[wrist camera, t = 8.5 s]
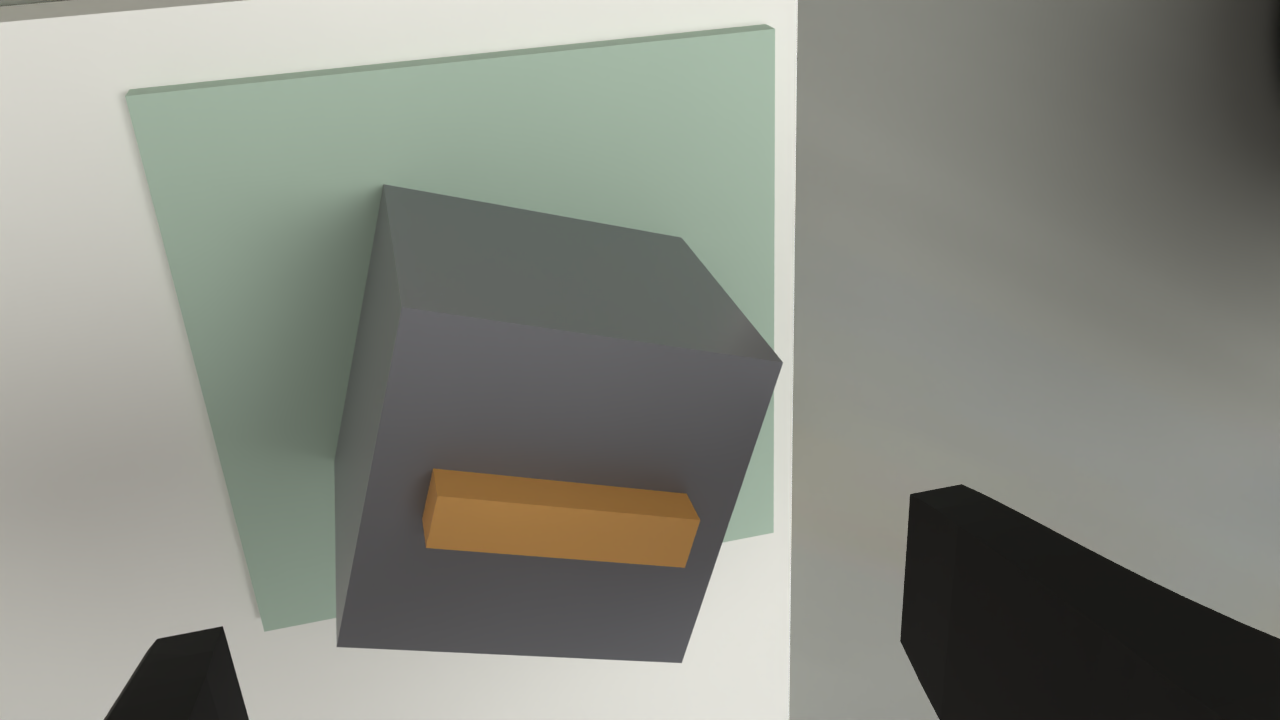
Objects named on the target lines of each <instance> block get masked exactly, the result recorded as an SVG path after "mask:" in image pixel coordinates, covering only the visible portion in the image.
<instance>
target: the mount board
mask: <svg viewBox="0 0 1280 720" xmlns="http://www.w3.org/2000/svg"><path fill="white" fill-rule="evenodd" d="M797 10H798V0H68V1H56V2H45V3H33V4H22V5H10V6H0V720H104V718H105V717H106V715H107V714H108V712H109V710H110V709H111V707H112V706H113V704H114V703H115V701H116V699H117V698H118V696H119V695H120V693H121V692H122V690H123V688H124V687H125V685H126V684H127V682H128V680H129V679H130V677H131V676H132V674H133V673H134V671H135V669H136V668H137V666H138V665H139V663H140V662H141V660H142V658H143V657H144V655H145V654H146V652H147V651H148V649H149V648H150V647H151V646H152V644H153V643H154V642H155V641H156V639H158V638H164V637H169V636H174V635H179V634H185V633H190V632H195V631H200V630H205V629H211V628H216V627H221V626H223V628H224V632H225V635H226V639H227V643H228V646H229V650H230V653H231V657H232V661H233V664H234V668H235V671H236V675H237V678H238V682H239V686H240V689H241V693H242V696H243V700H244V703H245V707H246V711H247V714H248V718H249V720H789V684H790V600H791V516H792V431H793V347H794V263H795V178H796V94H797ZM762 24H767V25H769V26H771V27H773V28H775V221H774V352H775V353H776V354H777V356H778V357H779V358H780V359H781V361H782V362H783V364H782V367H781V370H780V373H779V376H778V379H777V382H776V385H775V388H774V533H769V534H764V535H759V536H754V537H749V538H744V539H739V540H733V541H728V542H723V543H722V545H721V548H720V551H719V554H718V557H717V560H716V563H715V566H714V569H713V572H712V575H711V578H710V581H709V584H708V587H707V590H706V593H705V596H704V599H703V602H702V605H701V608H700V611H699V614H698V616H697V619H696V622H695V625H694V628H693V631H692V634H691V637H690V640H689V643H688V646H687V649H686V652H685V655H684V658H683V661H682V663H667V662H646V661H624V660H603V659H581V658H560V657H539V656H517V655H496V654H474V653H453V652H431V651H410V650H388V649H367V648H346V647H337V641H336V618H333V619H327V620H322V621H317V622H312V623H307V624H302V625H297V626H291V627H286V628H281V629H276V630H271V631H266V632H264V628H263V624H262V621H261V617H260V613H259V609H258V605H257V601H256V598H255V594H254V590H253V586H252V582H251V578H250V574H249V571H248V567H247V563H246V559H245V555H244V551H243V548H242V544H241V540H240V536H239V532H238V528H237V525H236V521H235V517H234V513H233V509H232V505H231V501H230V498H229V494H228V490H227V486H226V482H225V478H224V475H223V471H222V467H221V463H220V459H219V455H218V452H217V448H216V444H215V440H214V436H213V432H212V428H211V425H210V421H209V417H208V413H207V409H206V405H205V402H204V398H203V394H202V390H201V386H200V382H199V379H198V375H197V371H196V367H195V363H194V359H193V355H192V352H191V348H190V344H189V340H188V336H187V332H186V329H185V325H184V321H183V317H182V313H181V309H180V306H179V302H178V298H177V294H176V290H175V286H174V282H173V279H172V275H171V271H170V267H169V263H168V259H167V256H166V252H165V248H164V244H163V240H162V236H161V233H160V229H159V225H158V221H157V217H156V213H155V209H154V206H153V202H152V198H151V194H150V190H149V186H148V183H147V179H146V175H145V171H144V167H143V163H142V160H141V156H140V152H139V148H138V144H137V140H136V136H135V133H134V129H133V125H132V121H131V117H130V113H129V110H128V106H127V102H126V98H125V95H126V94H127V93H128V91H129V90H130V89H138V88H148V87H158V86H167V85H177V84H187V83H197V82H206V81H216V80H226V79H236V78H245V77H255V76H265V75H275V74H284V73H294V72H304V71H313V70H323V69H333V68H343V67H352V66H362V65H372V64H382V63H391V62H401V61H411V60H421V59H430V58H440V57H450V56H460V55H469V54H479V53H489V52H499V51H508V50H518V49H528V48H538V47H547V46H557V45H567V44H577V43H586V42H596V41H606V40H616V39H625V38H635V37H645V36H655V35H664V34H674V33H684V32H694V31H703V30H713V29H723V28H733V27H742V26H752V25H762Z"/></svg>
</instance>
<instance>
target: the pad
mask: <svg viewBox="0 0 1280 720" xmlns="http://www.w3.org/2000/svg"><path fill="white" fill-rule="evenodd" d="M125 98H126V102H127V106H128V110H129V113H130V117H131V121H132V125H133V129H134V133H135V136H136V140H137V144H138V148H139V152H140V156H141V160H142V163H143V167H144V171H145V175H146V179H147V183H148V186H149V190H150V194H151V198H152V202H153V206H154V209H155V213H156V217H157V221H158V225H159V229H160V233H161V236H162V240H163V244H164V248H165V252H166V256H167V259H168V263H169V267H170V271H171V275H172V279H173V282H174V286H175V290H176V294H177V298H178V302H179V306H180V309H181V313H182V317H183V321H184V325H185V329H186V332H187V336H188V340H189V344H190V348H191V352H192V355H193V359H194V363H195V367H196V371H197V375H198V379H199V382H200V386H201V390H202V394H203V398H204V402H205V405H206V409H207V413H208V417H209V421H210V425H211V428H212V432H213V436H214V440H215V444H216V448H217V452H218V455H219V459H220V463H221V467H222V471H223V475H224V478H225V482H226V486H227V490H228V494H229V498H230V501H231V505H232V509H233V513H234V517H235V521H236V525H237V528H238V532H239V536H240V540H241V544H242V548H243V551H244V555H245V559H246V563H247V567H248V571H249V574H250V578H251V582H252V586H253V590H254V594H255V598H256V601H257V605H258V609H259V613H260V617H261V621H262V624H263V628H264V632H266V631H271V630H276V629H281V628H286V627H291V626H297V625H302V624H307V623H312V622H317V621H322V620H327V619H333V618H336V558H335V476H334V460H335V455H336V449H337V443H338V438H339V432H340V426H341V421H342V415H343V410H344V404H345V398H346V393H347V387H348V381H349V376H350V370H351V365H352V359H353V353H354V348H355V342H356V336H357V331H358V325H359V320H360V314H361V308H362V303H363V297H364V291H365V286H366V280H367V275H368V269H369V263H370V258H371V252H372V246H373V241H374V235H375V230H376V224H377V218H378V213H379V207H380V201H381V196H382V190H383V184H386V185H391V186H397V187H402V188H408V189H413V190H419V191H425V192H430V193H436V194H441V195H447V196H452V197H458V198H464V199H469V200H475V201H480V202H486V203H491V204H497V205H503V206H508V207H514V208H519V209H525V210H531V211H536V212H542V213H547V214H553V215H558V216H564V217H570V218H575V219H581V220H586V221H592V222H597V223H603V224H609V225H614V226H620V227H625V228H631V229H636V230H642V231H648V232H653V233H659V234H664V235H670V236H676V237H681V238H682V239H683V240H684V241H685V242H686V244H687V245H688V246H689V247H690V249H691V250H692V251H693V252H694V253H695V255H696V256H697V257H698V258H699V260H700V261H701V262H702V263H703V265H704V266H705V267H706V268H707V269H708V271H709V272H710V273H711V274H712V276H713V277H714V278H715V279H716V281H717V282H718V283H719V284H720V285H721V287H722V288H723V289H724V290H725V292H726V293H727V294H728V295H729V297H730V298H731V299H732V300H733V301H734V303H735V304H736V305H737V306H738V308H739V309H740V310H741V311H742V313H743V314H744V315H745V316H746V317H747V319H748V320H749V321H750V322H751V324H752V325H753V326H754V327H755V329H756V330H757V331H758V332H759V333H760V335H761V336H762V337H763V338H764V340H765V341H766V342H767V343H768V345H769V346H770V347H771V348H772V349H773V351H774V221H775V28H773V27H771V26H769V25H767V24H762V25H752V26H742V27H733V28H723V29H713V30H703V31H694V32H684V33H674V34H664V35H655V36H645V37H635V38H625V39H616V40H606V41H596V42H586V43H577V44H567V45H557V46H547V47H538V48H528V49H518V50H508V51H499V52H489V53H479V54H469V55H460V56H450V57H440V58H430V59H421V60H411V61H401V62H391V63H382V64H372V65H362V66H352V67H343V68H333V69H323V70H313V71H304V72H294V73H284V74H275V75H265V76H255V77H245V78H236V79H226V80H216V81H206V82H197V83H187V84H177V85H167V86H158V87H148V88H138V89H130V90H129V91H128V93H127V94H126V95H125ZM769 533H774V391H773V394H772V397H771V400H770V403H769V406H768V409H767V412H766V415H765V418H764V421H763V424H762V427H761V430H760V433H759V436H758V439H757V442H756V445H755V447H754V450H753V453H752V456H751V459H750V462H749V465H748V468H747V471H746V474H745V477H744V480H743V483H742V486H741V489H740V492H739V495H738V498H737V501H736V504H735V507H734V510H733V513H732V516H731V519H730V522H729V525H728V528H727V530H726V533H725V536H724V539H723V542H728V541H733V540H739V539H744V538H749V537H754V536H759V535H764V534H769ZM723 542H722V543H723Z"/></svg>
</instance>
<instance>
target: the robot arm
mask: <svg viewBox="0 0 1280 720" xmlns="http://www.w3.org/2000/svg"><path fill="white" fill-rule="evenodd" d="M900 641H901V643H902V645H903V647H904V650H905V652H906V654H907V656H908V658H909V660H910V662H911V664H912V666H913V668H914V670H915V672H916V674H917V677H918V679H919V681H920V683H921V685H922V687H923V689H924V691H925V693H926V694H927V696H928V698H929V700H930V702H931V704H932V706H933V708H934V710H935V712H936V714H937V716H938V717H939V719H940V720H1280V639H1279V638H1276V637H1274V636H1271V635H1269V634H1267V633H1264V632H1262V631H1259V630H1257V629H1255V628H1252V627H1250V626H1247V625H1245V624H1243V623H1240V622H1238V621H1236V620H1234V619H1232V618H1229V617H1227V616H1225V615H1223V614H1221V613H1218V612H1216V611H1214V610H1212V609H1210V608H1207V607H1205V606H1203V605H1201V604H1199V603H1196V602H1194V601H1192V600H1190V599H1188V598H1185V597H1183V596H1181V595H1179V594H1177V593H1175V592H1173V591H1171V590H1169V589H1167V588H1165V587H1162V586H1160V585H1158V584H1156V583H1154V582H1152V581H1150V580H1148V579H1146V578H1144V577H1142V576H1140V575H1138V574H1136V573H1134V572H1132V571H1130V570H1128V569H1126V568H1124V567H1122V566H1120V565H1118V564H1116V563H1114V562H1112V561H1110V560H1108V559H1106V558H1105V557H1103V556H1101V555H1099V554H1097V553H1095V552H1093V551H1091V550H1089V549H1087V548H1085V547H1083V546H1082V545H1080V544H1078V543H1076V542H1074V541H1072V540H1070V539H1068V538H1066V537H1064V536H1063V535H1061V534H1059V533H1057V532H1055V531H1053V530H1051V529H1049V528H1047V527H1046V526H1044V525H1042V524H1040V523H1038V522H1036V521H1034V520H1032V519H1030V518H1029V517H1027V516H1025V515H1023V514H1021V513H1019V512H1017V511H1015V510H1013V509H1011V508H1009V507H1007V506H1006V505H1004V504H1002V503H1000V502H998V501H996V500H994V499H992V498H990V497H988V496H986V495H984V494H982V493H980V492H977V491H975V490H973V489H971V488H969V487H966V486H964V485H962V484H961V485H956V486H951V487H946V488H940V489H935V490H930V491H925V492H919V493H914V494H910V506H909V521H908V536H907V551H906V566H905V581H904V595H903V610H902V625H901V640H900ZM104 720H249V718H248V714H247V711H246V707H245V703H244V700H243V696H242V693H241V689H240V686H239V682H238V678H237V675H236V671H235V668H234V664H233V661H232V657H231V653H230V650H229V646H228V643H227V639H226V635H225V632H224V628H223V626H221V627H216V628H211V629H205V630H200V631H195V632H190V633H185V634H179V635H174V636H169V637H164V638H158V639H156V641H155V642H154V643H153V644H152V646H151V647H150V648H149V649H148V651H147V652H146V654H145V655H144V657H143V658H142V660H141V662H140V663H139V665H138V666H137V668H136V669H135V671H134V673H133V674H132V676H131V677H130V679H129V680H128V682H127V684H126V685H125V687H124V688H123V690H122V692H121V693H120V695H119V696H118V698H117V699H116V701H115V703H114V704H113V706H112V707H111V709H110V710H109V712H108V714H107V715H106V717H105V718H104Z"/></svg>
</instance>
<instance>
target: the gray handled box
mask: <svg viewBox="0 0 1280 720" xmlns="http://www.w3.org/2000/svg"><path fill="white" fill-rule="evenodd" d="M782 364H783V362H782V361H781V359H780V358H779V357H778V356H777V354H776V353H775V352H774V351H773V349H772V348H771V347H770V346H769V345H768V343H767V342H766V341H765V340H764V338H763V337H762V336H761V335H760V333H759V332H758V331H757V330H756V329H755V327H754V326H753V325H752V324H751V322H750V321H749V320H748V319H747V317H746V316H745V315H744V314H743V313H742V311H741V310H740V309H739V308H738V306H737V305H736V304H735V303H734V301H733V300H732V299H731V298H730V297H729V295H728V294H727V293H726V292H725V290H724V289H723V288H722V287H721V285H720V284H719V283H718V282H717V281H716V279H715V278H714V277H713V276H712V274H711V273H710V272H709V271H708V269H707V268H706V267H705V266H704V265H703V263H702V262H701V261H700V260H699V258H698V257H697V256H696V255H695V253H694V252H693V251H692V250H691V249H690V247H689V246H688V245H687V244H686V242H685V241H684V240H683V239H682V238H681V237H676V236H670V235H664V234H659V233H653V232H648V231H642V230H636V229H631V228H625V227H620V226H614V225H609V224H603V223H597V222H592V221H586V220H581V219H575V218H570V217H564V216H558V215H553V214H547V213H542V212H536V211H531V210H525V209H519V208H514V207H508V206H503V205H497V204H491V203H486V202H480V201H475V200H469V199H464V198H458V197H452V196H447V195H441V194H436V193H430V192H425V191H419V190H413V189H408V188H402V187H397V186H391V185H386V184H383V190H382V196H381V201H380V207H379V213H378V218H377V224H376V230H375V235H374V241H373V246H372V252H371V258H370V263H369V269H368V275H367V280H366V286H365V291H364V297H363V303H362V308H361V314H360V320H359V325H358V331H357V336H356V342H355V348H354V353H353V359H352V365H351V370H350V376H349V381H348V387H347V393H346V398H345V404H344V410H343V415H342V421H341V426H340V432H339V438H338V443H337V449H336V455H335V460H334V476H335V558H336V641H337V647H346V648H367V649H388V650H410V651H431V652H453V653H474V654H496V655H517V656H539V657H560V658H581V659H603V660H624V661H646V662H667V663H682V661H683V658H684V655H685V652H686V649H687V646H688V643H689V640H690V637H691V634H692V631H693V628H694V625H695V622H696V619H697V616H698V614H699V611H700V608H701V605H702V602H703V599H704V596H705V593H706V590H707V587H708V584H709V581H710V578H711V575H712V572H713V569H714V566H715V563H716V560H717V557H718V554H719V551H720V548H721V545H722V542H723V539H724V536H725V533H726V530H727V528H728V525H729V522H730V519H731V516H732V513H733V510H734V507H735V504H736V501H737V498H738V495H739V492H740V489H741V486H742V483H743V480H744V477H745V474H746V471H747V468H748V465H749V462H750V459H751V456H752V453H753V450H754V447H755V445H756V442H757V439H758V436H759V433H760V430H761V427H762V424H763V421H764V418H765V415H766V412H767V409H768V406H769V403H770V400H771V397H772V394H773V391H774V388H775V385H776V382H777V379H778V376H779V373H780V370H781V367H782Z"/></svg>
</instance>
